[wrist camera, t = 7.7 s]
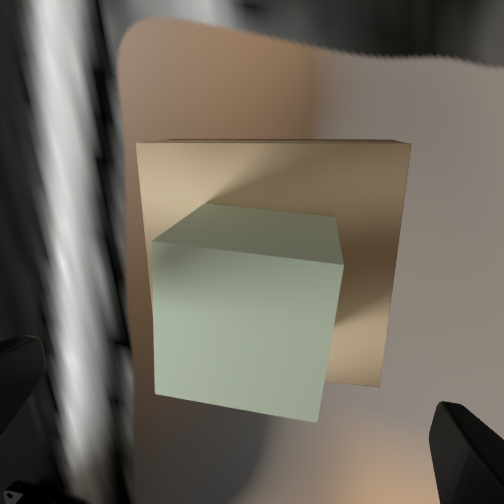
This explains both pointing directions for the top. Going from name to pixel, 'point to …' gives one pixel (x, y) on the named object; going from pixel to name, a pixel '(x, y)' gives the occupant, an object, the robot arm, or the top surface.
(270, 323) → the sage cube
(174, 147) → the oak block
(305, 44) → the top surface
